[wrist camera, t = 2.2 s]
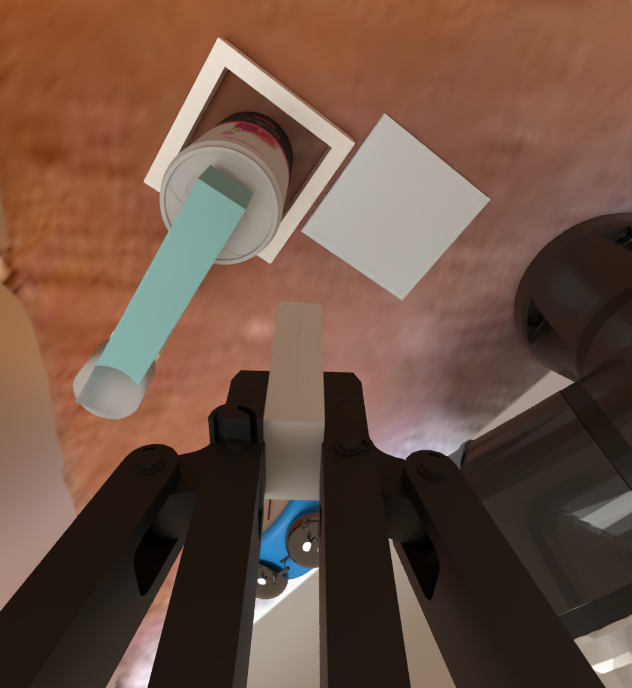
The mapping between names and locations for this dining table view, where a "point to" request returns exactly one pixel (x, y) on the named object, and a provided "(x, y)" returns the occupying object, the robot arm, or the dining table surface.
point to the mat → (394, 209)
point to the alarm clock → (287, 544)
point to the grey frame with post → (282, 97)
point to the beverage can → (236, 178)
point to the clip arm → (161, 297)
